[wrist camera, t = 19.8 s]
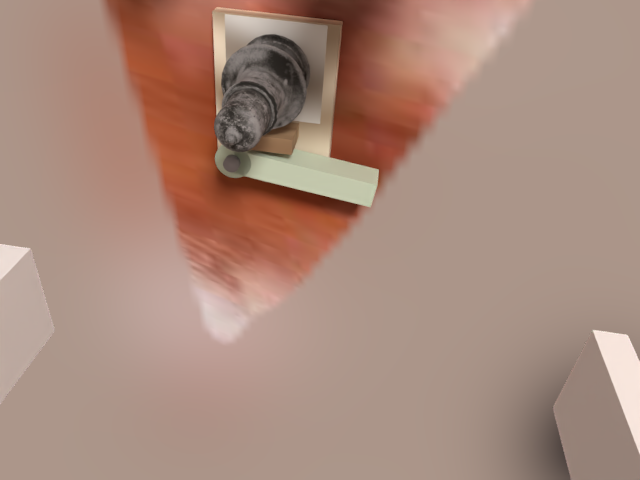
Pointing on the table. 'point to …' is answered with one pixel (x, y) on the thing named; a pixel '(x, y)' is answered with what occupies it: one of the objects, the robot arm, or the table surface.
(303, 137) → the board
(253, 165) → the leg
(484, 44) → the table surface
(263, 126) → the grey stone chess piece
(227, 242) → the table surface
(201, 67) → the table surface
